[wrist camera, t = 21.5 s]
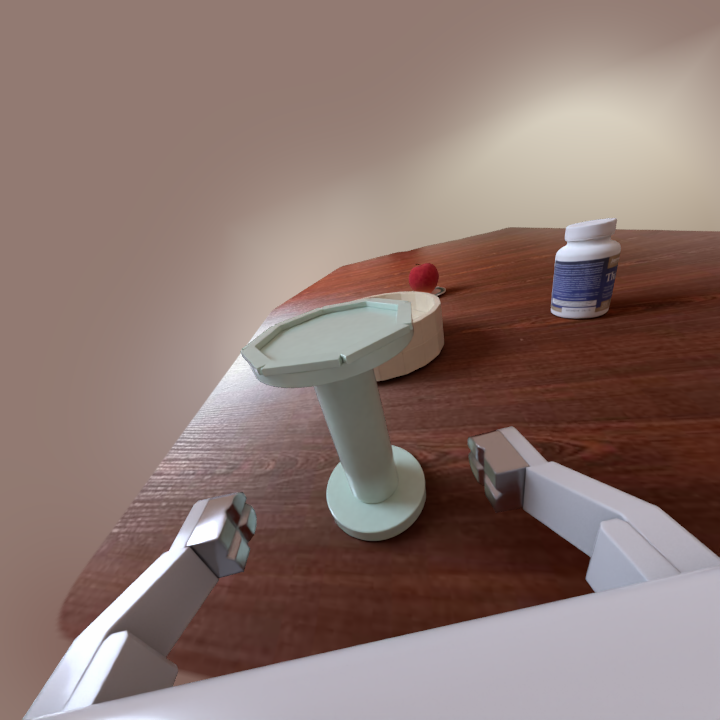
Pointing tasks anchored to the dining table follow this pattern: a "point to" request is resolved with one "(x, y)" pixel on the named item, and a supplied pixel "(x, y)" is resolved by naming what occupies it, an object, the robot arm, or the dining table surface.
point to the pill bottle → (585, 270)
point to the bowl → (415, 335)
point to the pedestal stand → (350, 406)
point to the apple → (425, 279)
